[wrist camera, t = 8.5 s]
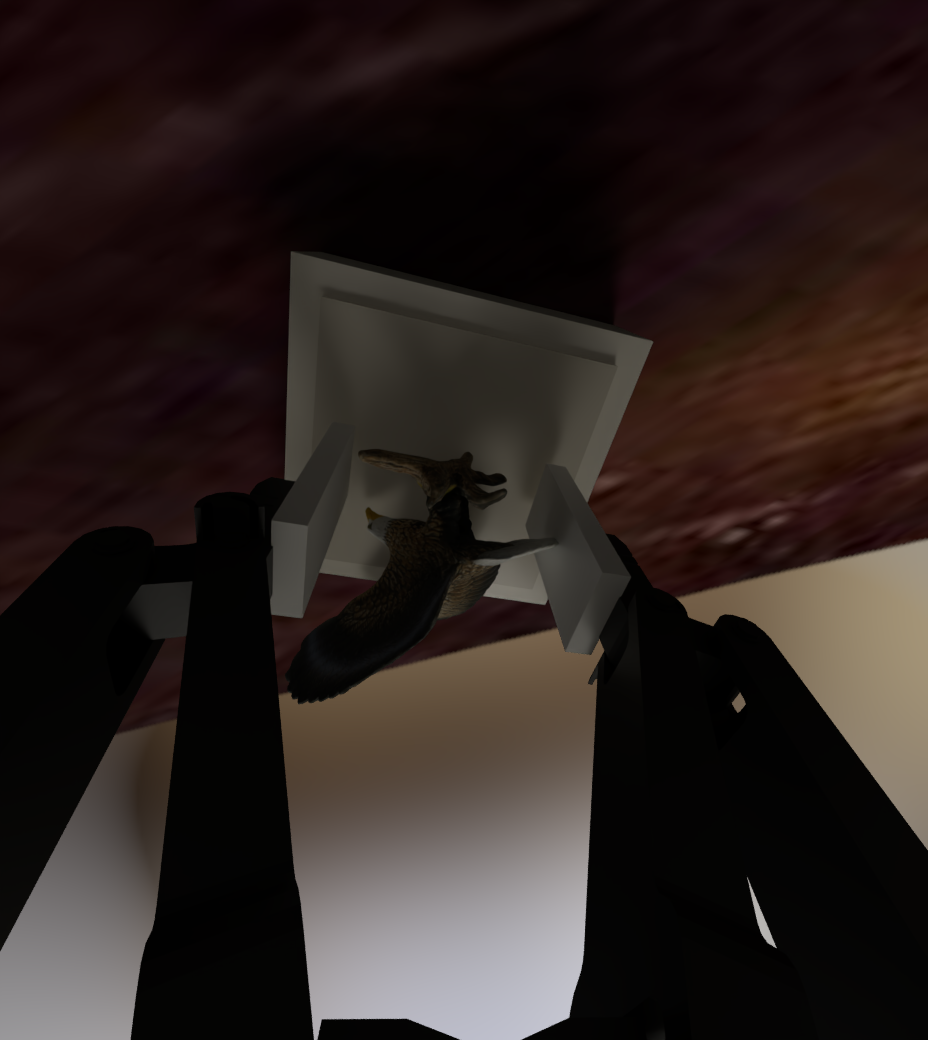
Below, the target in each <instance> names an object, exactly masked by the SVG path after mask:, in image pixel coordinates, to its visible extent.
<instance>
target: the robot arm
mask: <svg viewBox="0 0 928 1040" xmlns="http://www.w3.org/2000/svg"><path fill="white" fill-rule="evenodd" d="M354 433H355V426H353V425H347V424H342V423H337V422H332V424H331V425H330V427H329V428H328V430H327V432H326V433H325V435H324V437H323V438H322V440H321V441H320V443H319V445H318V446H317V448H316V449H315V451H314V453H313V454H312V456H311V457H310V459H309V461H308V462H307V464H306V465H305V467H304V469H303V470H302V472H301V474H300V475H299V477H298V478H297V480H296V481H290V480H285V479H279V478H273V477H271V478H268V479H266V480H264V481H262V482H260V483H258V484H257V485H256V486H255V488H254V489H253V490H252V491H251V493H250V495H248V494H245V493H236V492H224V493H216V494H212V495H209V496H206V497H204V498H202V499H201V500H199V501H198V502H197V503H196V505H195V507H194V514H195V525H196V537H197V543H194V544H187V545H174V546H154V540H153V538H152V536H151V534H150V533H148V532H146V531H144V530H142V529H139V528H134V527H129V526H120V527H118V526H115V527H108V528H107V527H106V528H102V529H98V530H95V531H92V532H89V533H87V534H84V535H83V536H81V537H80V538H78V539H77V540H76V541H74V542H73V543H72V544H71V545H70V546H69V547H68V548H67V549H66V550H65V551H64V552H63V553H62V554H61V555H60V556H59V557H58V558H57V559H56V560H55V561H54V562H53V563H52V564H51V565H50V566H49V567H48V568H47V569H46V570H45V571H44V572H43V573H42V574H41V575H40V576H39V577H38V578H37V579H36V580H35V581H34V582H33V583H32V584H31V585H30V586H29V587H28V588H27V589H26V590H25V591H24V592H23V593H22V594H21V595H20V596H19V597H18V598H17V599H16V600H15V601H14V602H13V603H12V604H11V605H10V606H9V607H8V608H7V609H6V610H5V611H4V612H3V613H2V614H1V615H0V951H1V949H2V947H3V945H4V943H5V941H6V939H7V938H8V936H9V934H10V932H11V930H12V928H13V926H14V924H15V923H16V920H17V919H18V917H19V915H20V913H21V911H22V909H23V907H24V905H25V904H26V901H27V900H28V898H29V896H30V894H31V892H32V890H33V888H34V887H35V884H36V883H37V881H38V879H39V877H40V875H41V873H42V871H43V870H44V868H45V866H46V864H47V862H48V860H49V858H50V856H51V854H52V853H53V851H54V848H55V847H56V845H57V843H58V841H59V839H60V837H61V835H62V834H63V832H64V830H65V828H66V825H67V824H68V822H69V820H70V818H71V816H72V815H73V813H74V811H75V809H76V807H77V805H78V803H79V801H80V799H81V798H82V796H83V794H84V792H85V790H86V788H87V786H88V784H89V782H90V781H91V779H92V777H93V775H94V773H95V771H96V769H97V767H98V765H99V764H100V762H101V760H102V758H103V756H104V754H105V752H106V750H107V748H108V747H109V745H110V743H111V741H112V739H113V737H114V735H115V733H116V731H117V730H118V728H119V726H120V724H121V722H122V720H123V718H124V716H125V714H126V713H127V711H128V709H129V707H130V705H131V703H132V701H133V699H134V697H135V696H136V694H137V692H138V690H139V688H140V686H141V684H142V682H143V680H144V678H145V677H146V675H147V673H148V671H149V669H150V667H151V665H152V663H153V661H154V660H155V658H156V656H157V654H158V652H159V650H160V648H161V646H162V644H163V643H164V641H165V638H172V637H181V636H186V644H185V653H184V662H183V671H182V680H181V689H180V698H179V707H178V716H177V726H176V735H175V744H174V753H173V762H172V771H171V780H170V789H169V798H168V807H167V817H166V826H165V834H164V844H163V853H162V862H161V872H160V880H159V890H158V898H157V907H156V914H155V921H154V925H153V929H152V932H151V934H150V936H149V938H148V940H147V942H146V944H145V949H144V952H143V957H142V961H141V966H140V973H139V979H138V986H137V993H136V1001H135V1009H134V1016H133V1025H132V1032H131V1033H132V1034H131V1040H314V1036H313V1026H312V1014H311V1004H310V993H309V983H308V974H307V961H306V951H305V941H304V930H303V921H302V911H301V902H300V896H299V890H298V886H297V883H296V880H295V874H294V865H293V854H292V844H291V832H290V822H289V811H288V810H289V809H288V798H287V787H286V775H285V764H284V754H283V742H282V731H281V719H280V708H279V696H278V685H277V674H276V663H275V651H274V640H273V629H272V617H271V614H273V615H281V616H289V617H297V618H302V617H303V615H304V612H305V609H306V607H307V604H308V601H309V598H310V596H311V593H312V590H313V588H314V585H315V582H316V580H317V577H318V574H319V572H320V569H321V566H322V563H323V561H324V558H325V555H326V553H327V550H328V547H329V545H330V542H331V539H332V536H333V534H334V531H335V528H336V526H337V523H338V520H339V518H340V515H341V512H342V510H343V507H344V504H345V501H346V499H347V496H348V489H349V479H350V470H351V461H352V451H353V442H354ZM525 527H526V530H527V533H528V536H529V539H542V538H555V539H556V540H557V542H559V545H558V546H556V547H554V548H550V549H546V550H542V551H539V552H536V553H534V555H535V558H536V561H537V564H538V568H539V571H540V574H541V577H542V580H543V583H544V586H545V590H546V593H547V596H548V599H549V602H550V605H551V608H552V612H553V615H554V618H555V621H556V624H557V627H558V630H559V634H560V637H561V640H562V643H563V646H564V649H565V652H574V653H581V654H589V655H591V654H592V652H593V650H594V648H595V646H596V644H597V643H598V641H599V639H600V641H601V644H602V646H603V648H604V653H603V654H602V657H601V658H600V660H599V662H598V664H597V666H596V668H595V669H594V672H593V674H592V675H591V677H590V679H589V682H588V684H591V685H592V684H593V682H594V680H595V679H597V697H596V718H595V738H594V759H593V778H592V800H591V820H590V840H589V860H588V861H589V862H588V880H587V901H586V921H585V942H584V956H583V964H582V969H581V973H580V976H579V980H578V982H577V986H576V989H575V992H574V995H573V1000H572V1006H571V1010H570V1018H568V1019H566V1020H563V1021H561V1022H559V1023H557V1024H555V1025H552V1026H550V1027H548V1028H546V1029H544V1030H541V1031H539V1032H537V1033H535V1034H533V1035H531V1036H529V1037H526V1038H524V1039H522V1040H928V850H927V849H926V847H925V846H924V845H923V843H922V842H921V841H920V839H919V838H918V837H917V835H916V834H915V833H914V831H913V830H912V829H911V827H910V826H909V825H908V823H907V822H906V821H905V819H904V818H903V816H902V815H901V814H900V812H899V811H898V810H897V808H896V807H895V806H894V804H893V803H892V802H891V800H890V799H889V798H888V796H887V795H886V794H885V792H884V791H883V789H882V788H881V787H880V786H879V784H878V783H877V781H876V780H875V779H874V777H873V776H872V775H871V773H870V772H869V771H868V769H867V768H866V767H865V765H864V764H863V763H862V761H861V760H860V759H859V757H858V756H857V754H856V753H855V752H854V750H853V749H852V748H851V746H850V745H849V744H848V742H847V741H846V740H845V738H844V737H843V735H842V734H841V733H840V732H839V730H838V729H837V727H836V726H835V725H834V723H833V722H832V721H831V719H830V718H829V717H828V715H827V714H826V713H825V711H824V710H823V709H822V707H821V706H820V704H819V703H818V702H817V700H816V699H815V698H814V696H813V695H812V694H811V692H810V691H809V690H808V688H807V687H806V686H805V684H804V683H803V682H802V680H801V679H800V677H799V676H798V675H797V673H796V672H795V671H794V669H793V668H792V667H791V665H790V664H789V663H788V662H787V660H786V659H785V658H784V656H783V655H782V653H781V652H780V651H779V649H778V648H777V646H776V645H775V644H774V642H773V641H772V640H771V638H770V637H769V636H768V635H767V634H766V633H765V632H764V631H763V630H761V629H760V628H759V627H757V625H756V624H754V623H753V622H751V621H748V620H747V619H745V618H740V617H738V616H734V615H726V614H725V615H722V616H720V617H719V619H718V620H717V622H716V623H715V624H714V626H710V625H707V624H705V623H702V622H699V621H696V620H694V619H691V618H689V617H688V615H687V612H686V609H685V608H684V606H683V605H682V604H681V603H680V602H679V601H678V600H677V599H676V598H675V597H673V596H672V595H670V594H669V593H667V592H664V591H662V590H660V589H657V588H653V587H652V585H651V583H650V582H649V580H648V579H647V577H646V576H645V574H644V573H643V571H642V569H641V568H640V566H638V565H637V564H638V563H637V562H636V560H635V558H634V557H632V554H631V552H630V551H629V549H628V548H627V546H626V545H625V544H624V543H623V542H622V541H621V540H619V539H618V538H617V537H616V536H615V535H611V534H605V532H604V530H603V529H602V527H601V525H600V524H599V522H598V520H597V519H596V517H595V515H594V514H593V512H592V510H591V509H590V507H589V505H588V504H587V502H586V500H585V498H584V497H583V495H582V493H581V492H580V490H579V488H578V487H577V485H576V483H575V482H574V480H573V478H572V477H571V475H570V473H569V472H568V470H567V468H566V467H563V466H558V465H553V464H548V463H546V466H545V469H544V472H543V475H542V477H541V480H540V483H539V486H538V489H537V492H536V495H535V498H534V501H533V504H532V507H531V510H530V513H529V515H528V518H527V521H526V524H525ZM270 599H271V601H270ZM739 693H741V695H742V696H743V698H744V700H745V703H746V705H745V706H744V707H743V709H742V710H741V711H740V712H739V713H737V711H736V710H735V709H734V707H733V705H732V702H733V701H734V699H735V698H736V697H737V696H738V694H739ZM747 877H748V880H749V882H750V884H751V887H752V889H753V892H754V894H755V897H756V899H757V901H758V904H759V906H760V909H761V911H762V913H763V916H764V918H765V921H766V923H767V925H768V928H769V930H770V933H771V935H772V938H773V940H774V943H775V945H776V947H777V948H775V947H773V946H772V945H770V944H768V943H767V942H766V940H765V939H764V937H763V936H762V934H761V932H760V929H759V926H758V923H757V919H756V914H755V910H754V905H753V901H752V897H751V892H750V888H749V883H748V880H747ZM318 1040H459V1039H457V1038H454V1037H452V1036H449V1035H447V1034H444V1033H442V1032H439V1031H437V1030H434V1029H432V1028H429V1027H426V1026H424V1025H421V1024H419V1023H416V1022H413V1021H411V1020H409V1019H322V1021H321V1026H320V1030H319V1035H318Z"/></svg>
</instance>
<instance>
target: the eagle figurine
mask: <svg viewBox="0 0 928 1040" xmlns="http://www.w3.org/2000/svg"><path fill="white" fill-rule="evenodd" d="M358 456H359V458H360V460H361V461H362V462H366V463H369V464H371V465H373V466H376V467H379V468H382V469H386V470H391V471H394V472H397V473H407V474H410V475H411V476H412V477H413V478H414V479H416V481H417V483H418V485H419V486H420V487H421V488H422V489H423V492H424V493H425V495H427V500H426V506H427V508H428V511H429V517H428V518H427V521H426V522H425V521H420V520H416V519H406V518H400V519H396V518H390V517H387V516H383V515H379V514H377V513H375V512H374V511H372V510H371V508H369V507H368V508H366V510H365V513H366V517H367V520H368V526H367V529H368V531H369V532H370V533H371V534H372V535H373V536H375V537H376V538H377V539H379V540H380V541H381V542H383V543H384V544H385V545H386V546H387V547H388V548H389V551H390V559H389V563H388V565H387V567H386V569H385V570H384V572H383V574H382V576H381V577H380V579H379V580H378V581H377V582H376V584H374V585H373V586H372V587H371V588H370V589H368V590H367V591H366V592H364V593H362V594H361V595H359V596H357V597H356V598H354V599H353V600H352V601H351V602H349V603H348V604H347V605H346V607H345V608H344V609H343V610H342V612H341V613H340V614H339V615H337V616H336V617H333V618H330V619H328V620H327V621H325V622H324V623H322V624H321V625H319V626H318V627H317V628H315V629H314V630H313V631H312V632H311V633H310V634H309V635H307V636H306V638H305V639H304V640H303V642H302V644H301V650H300V651H299V652H298V653H297V655H296V656H295V657H294V659H293V661H292V663H291V666H290V669H289V670H288V671H287V673H286V674H285V677H286V680H287V681H288V682H289V685H288V688H287V690H288V692H289V693H292V695H291V696H292V699H297V698H298V704H303V703H305V702H307V701H308V702H309V703H314V702H315V701H317V700H319V701H320V702H322V701H324V700H326V699H327V698H334V697H336V696H337V695H338V694H344V693H346V692H347V691H348V690H349V689H351V688H352V687H355V686H357V685H358V684H360V683H361V682H362V681H364V680H365V679H367V678H368V677H370V676H371V675H373V674H375V673H377V672H378V671H380V670H381V669H383V668H384V667H385V666H387V665H389V664H391V663H393V662H394V661H395V660H396V659H398V658H400V657H401V656H402V655H404V654H405V653H406V652H407V651H408V650H410V649H411V648H412V647H414V646H415V645H416V644H418V643H419V642H420V641H421V640H422V639H424V638H425V637H426V635H427V634H428V633H429V632H430V630H431V629H432V628H433V627H434V625H435V623H436V621H437V620H442V619H447V618H449V617H451V616H456V615H458V614H461V613H464V612H465V611H466V610H467V609H469V608H471V607H472V606H473V605H474V604H475V603H476V601H478V600H479V599H480V598H481V597H482V596H483V595H484V594H485V592H486V590H487V589H489V588H490V586H491V585H492V583H493V582H494V581H495V579H496V576H497V575H498V570H499V568H500V566H501V564H500V563H503V562H506V561H509V560H512V559H515V558H519V557H522V556H525V555H529V554H533V553H536V552H539V551H542V550H546V549H550V548H554V547H556V546H558V545H559V542H557V540H556V539H555V538H542V539H519V540H513V541H510V542H506V543H503V542H495V541H483V540H476V539H475V537H474V534H473V531H472V529H471V527H472V522H471V521H470V519H469V518H470V516H469V507H468V505H469V503H470V504H471V505H472V506H474V507H475V508H477V509H479V510H484V509H485V508H487V507H488V506H489V505H492V504H494V503H497V502H499V501H500V500H502V499H503V498H505V497H506V495H507V490H506V489H505V488H503V489H500V490H496V491H494V492H490V493H488V492H486V491H484V490H482V489H481V488H480V487H478V486H477V485H476V484H483V485H488V486H497V485H501V484H504V483H506V482H507V479H506V477H505V476H504V475H502V474H500V473H495V474H491V475H486V474H484V473H483V472H481V471H475V470H473V469H471V464H472V461H473V455H472V454H471V453H470V452H465V453H464V454H463V455H462V456H461V458H459V459H451V460H449V461H436V460H432V459H429V458H425V457H420V456H414V455H408V454H403V453H398V452H392V451H387V450H382V449H369V450H360V451H359V452H358Z"/></svg>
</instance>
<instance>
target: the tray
mask: <svg viewBox="0 0 928 1040" xmlns="http://www.w3.org/2000/svg"><path fill="white" fill-rule="evenodd" d="M652 343H653V341H651V340H649V339H646V338H644V337H641V336H639V335H636V334H634V333H632V332H629V331H627V330H624V329H622V328H619V327H617V326H615V325H611V324H607V323H603V322H599V321H595V320H591V319H587V318H583V317H579V316H575V315H571V314H567V313H563V312H559V311H555V310H551V309H547V308H543V307H539V306H535V305H531V304H527V303H523V302H519V301H515V300H511V299H507V298H503V297H499V296H495V295H491V294H487V293H483V292H479V291H475V290H471V289H467V288H464V287H460V286H456V285H452V284H448V283H444V282H440V281H436V280H432V279H428V278H424V277H420V276H416V275H412V274H408V273H404V272H400V271H396V270H392V269H388V268H384V267H380V266H376V265H372V264H368V263H364V262H360V261H356V260H352V259H348V258H344V257H340V256H336V255H332V254H328V253H324V252H298V251H291V272H290V308H289V345H288V381H287V417H286V453H285V480H290V481H296V480H297V478H298V477H299V475H300V474H301V472H302V470H303V469H304V467H305V465H306V464H307V462H308V461H309V459H310V457H311V456H312V454H313V453H314V451H315V449H316V448H317V446H318V445H319V443H320V441H321V440H322V438H323V437H324V435H325V433H326V432H327V430H328V428H329V427H330V425H331V424H332V422H337V423H342V424H347V425H353V426H355V433H354V442H353V451H352V461H351V470H350V479H349V489H348V496H347V499H346V501H345V504H344V507H343V510H342V512H341V515H340V518H339V520H338V523H337V526H336V528H335V531H334V534H333V536H332V539H331V542H330V545H329V547H328V550H327V553H326V555H325V558H324V561H323V563H322V566H321V569H320V573H327V574H334V575H341V576H348V577H355V578H362V579H369V580H376V581H378V580H379V579H380V577H381V576H382V574H383V572H384V570H385V569H386V567H387V565H388V563H389V559H390V551H389V548H388V547H387V546H386V545H385V544H384V543H383V542H381V541H380V540H379V539H377V538H376V537H375V536H373V535H372V534H371V533H370V532H369V531H368V529H367V526H368V520H367V517H366V513H365V510H366V508H368V507H369V508H371V510H372V511H374V512H375V513H377V514H379V515H383V516H387V517H390V518H396V519H400V518H406V519H416V520H420V521H425V522H426V521H427V518H428V517H429V511H428V508H427V506H426V500H427V495H425V493H424V492H423V489H422V488H421V487H420V486H419V485H418V483H417V481H416V479H414V478H413V477H412V476H411V475H410V474H407V473H397V472H394V471H391V470H386V469H382V468H379V467H376V466H373V465H371V464H369V463H366V462H362V461H361V460H360V458H359V456H358V452H359V451H360V450H369V449H382V450H387V451H392V452H398V453H403V454H408V455H414V456H420V457H425V458H429V459H432V460H436V461H449V460H451V459H459V458H461V456H462V455H463V454H464V453H465V452H470V453H471V454H472V455H473V461H472V464H471V469H473V470H475V471H481V472H483V473H484V474H486V475H491V474H495V473H500V474H502V475H504V476H505V477H506V479H507V482H506V483H504V484H501V485H497V486H488V485H483V484H476V485H477V486H478V487H480V488H481V489H482V490H484V491H486V492H488V493H490V492H494V491H496V490H500V489H503V488H505V489H506V490H507V495H506V497H505V498H503V499H502V500H500V501H499V502H497V503H494V504H492V505H489V506H488V507H487V508H485V509H484V510H479V509H477V508H475V507H474V506H472V505H471V504H470V503H469V505H468V507H469V516H470V518H469V519H470V521H471V522H472V527H471V529H472V531H473V534H474V537H475V539H476V540H483V541H495V542H503V543H506V542H510V541H513V540H519V539H529V536H528V533H527V530H526V527H525V524H526V521H527V518H528V515H529V513H530V510H531V507H532V504H533V501H534V498H535V495H536V492H537V489H538V486H539V483H540V480H541V477H542V475H543V472H544V469H545V466H546V463H548V464H553V465H558V466H563V467H566V468H567V470H568V472H569V473H570V475H571V477H572V478H573V480H574V482H575V483H576V485H577V487H578V488H579V490H580V492H581V493H582V495H583V497H584V498H585V500H586V502H588V499H589V497H590V494H591V492H592V489H593V487H594V485H595V482H596V480H597V477H598V475H599V472H600V470H601V468H602V465H603V463H604V460H605V458H606V455H607V453H608V450H609V448H610V446H611V443H612V441H613V438H614V436H615V433H616V431H617V429H618V426H619V424H620V421H621V419H622V416H623V414H624V412H625V409H626V407H627V404H628V402H629V399H630V397H631V394H632V392H633V390H634V387H635V385H636V382H637V380H638V377H639V375H640V373H641V370H642V368H643V365H644V363H645V360H646V358H647V356H648V353H649V351H650V348H651V346H652ZM500 564H501V566H500V568H499V570H498V575H497V576H496V579H495V581H494V582H493V583H492V585H491V586H490V588H489V589H487V590H486V592H485V594H484V595H483V596H488V597H495V598H502V599H509V600H516V601H523V602H530V603H537V604H544V605H545V604H546V601H547V599H548V596H547V593H546V590H545V586H544V583H543V580H542V577H541V574H540V571H539V568H538V564H537V561H536V558H535V555H534V553H533V554H529V555H525V556H522V557H519V558H515V559H512V560H509V561H506V562H503V563H500Z"/></svg>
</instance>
